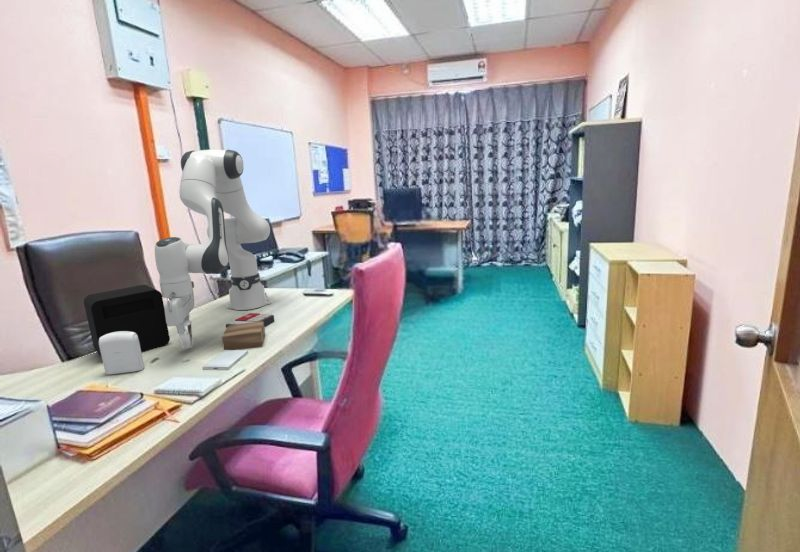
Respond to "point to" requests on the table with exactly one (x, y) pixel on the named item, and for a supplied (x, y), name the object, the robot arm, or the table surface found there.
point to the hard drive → (225, 360)
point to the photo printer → (121, 352)
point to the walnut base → (244, 336)
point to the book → (254, 319)
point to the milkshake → (186, 335)
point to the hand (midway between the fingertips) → (184, 330)
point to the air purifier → (128, 315)
